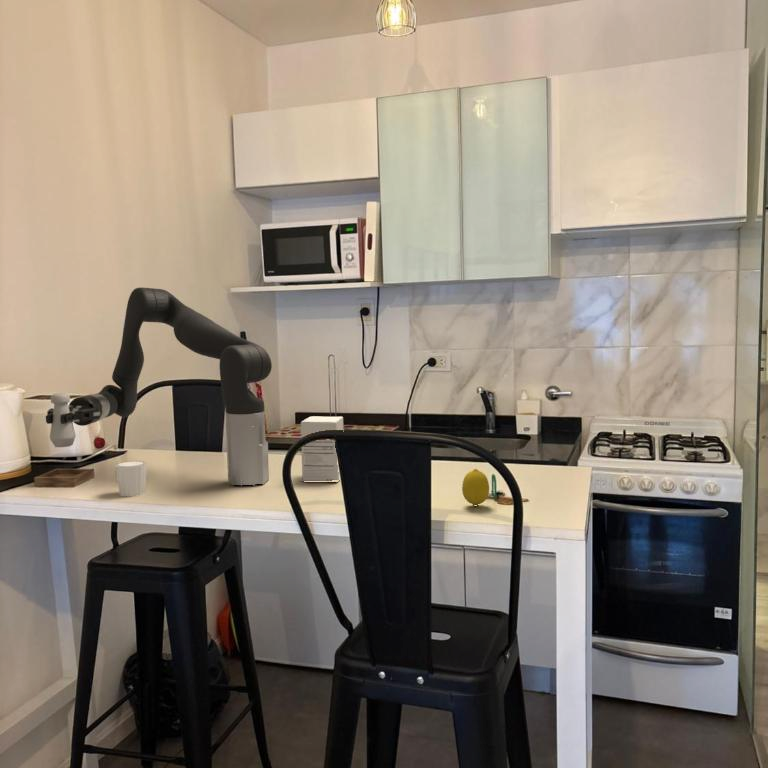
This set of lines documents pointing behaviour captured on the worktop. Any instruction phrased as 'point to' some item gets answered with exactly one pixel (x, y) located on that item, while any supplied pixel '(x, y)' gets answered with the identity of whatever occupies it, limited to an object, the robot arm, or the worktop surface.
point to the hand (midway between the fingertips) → (55, 419)
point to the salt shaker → (60, 432)
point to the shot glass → (131, 477)
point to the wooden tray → (63, 477)
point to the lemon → (475, 487)
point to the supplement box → (320, 450)
